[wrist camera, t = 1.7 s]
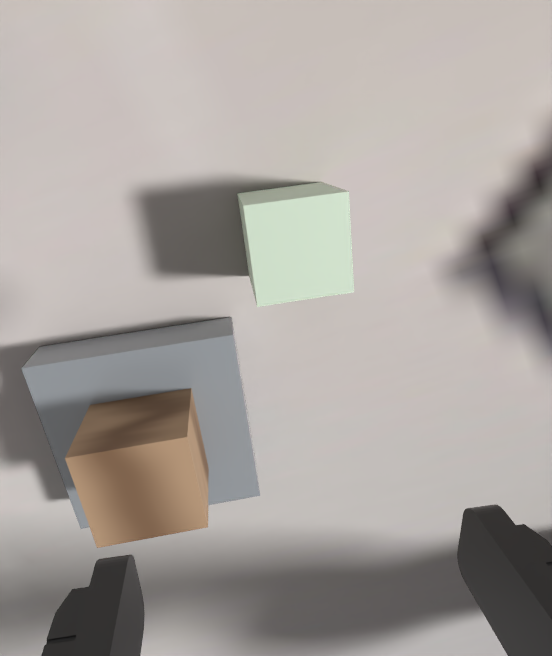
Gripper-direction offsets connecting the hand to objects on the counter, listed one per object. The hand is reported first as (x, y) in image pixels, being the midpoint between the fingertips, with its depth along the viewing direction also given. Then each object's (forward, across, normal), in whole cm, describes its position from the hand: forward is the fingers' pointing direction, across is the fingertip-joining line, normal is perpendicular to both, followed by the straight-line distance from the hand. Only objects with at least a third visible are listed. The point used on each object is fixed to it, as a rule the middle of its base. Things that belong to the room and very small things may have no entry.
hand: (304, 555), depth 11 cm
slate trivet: (+20, +6, +8) cm, 22 cm away
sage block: (+20, -3, -4) cm, 20 cm away
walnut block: (+17, +6, +8) cm, 19 cm away
